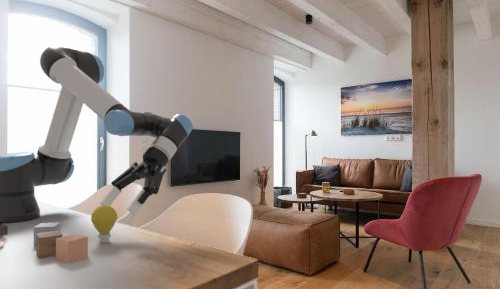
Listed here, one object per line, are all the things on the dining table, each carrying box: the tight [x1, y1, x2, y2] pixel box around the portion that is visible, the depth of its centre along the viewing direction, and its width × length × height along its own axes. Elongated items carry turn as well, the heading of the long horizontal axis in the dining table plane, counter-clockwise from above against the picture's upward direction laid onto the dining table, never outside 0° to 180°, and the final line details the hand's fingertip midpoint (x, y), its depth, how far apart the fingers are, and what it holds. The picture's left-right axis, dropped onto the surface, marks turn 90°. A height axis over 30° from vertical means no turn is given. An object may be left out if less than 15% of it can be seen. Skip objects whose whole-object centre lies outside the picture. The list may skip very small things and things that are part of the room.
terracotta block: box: [55, 233, 89, 264], centre depth 83 cm, size 5×5×5 cm
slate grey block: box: [33, 221, 61, 247], centre depth 96 cm, size 5×5×5 cm
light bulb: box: [90, 205, 118, 244], centre depth 97 cm, size 7×7×10 cm
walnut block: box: [35, 230, 64, 259], centre depth 87 cm, size 5×5×5 cm
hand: (116, 209), depth 99 cm, fingers open, 13 cm apart
